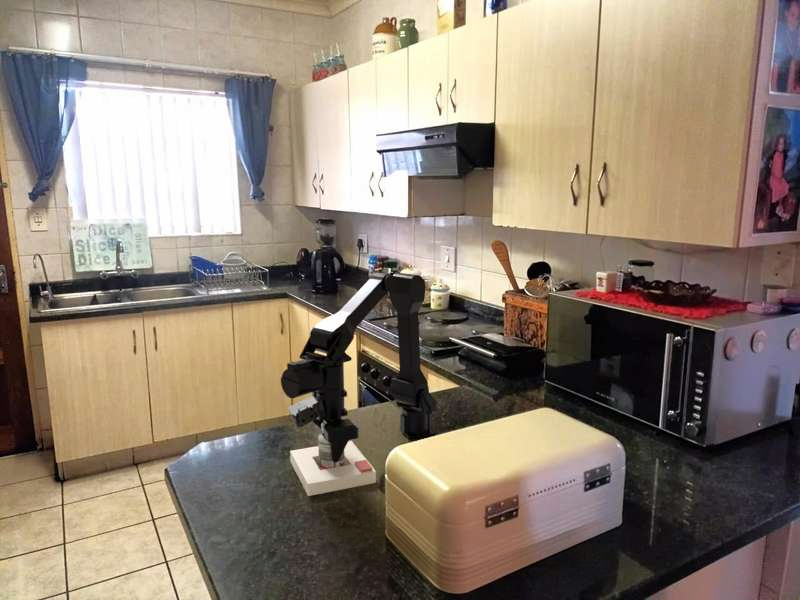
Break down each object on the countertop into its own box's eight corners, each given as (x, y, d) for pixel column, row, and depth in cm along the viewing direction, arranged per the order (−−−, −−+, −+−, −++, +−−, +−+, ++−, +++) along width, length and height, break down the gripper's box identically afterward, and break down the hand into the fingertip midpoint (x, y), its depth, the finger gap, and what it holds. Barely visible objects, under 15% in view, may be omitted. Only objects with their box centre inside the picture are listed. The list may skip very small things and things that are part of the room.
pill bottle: (335, 459, 126) (334, 416, 125) (349, 468, 122) (349, 424, 120) (314, 466, 123) (312, 422, 121) (327, 476, 119) (326, 431, 117)
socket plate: (351, 450, 133) (351, 438, 132) (375, 482, 118) (375, 468, 118) (290, 461, 127) (290, 448, 127) (308, 496, 113) (307, 481, 112)
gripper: (281, 376, 125) (284, 445, 128) (301, 406, 108) (304, 483, 111) (331, 370, 129) (333, 436, 132) (359, 398, 112) (360, 473, 115)
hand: (331, 456), depth 122 cm, fingers closed on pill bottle, 5 cm apart
